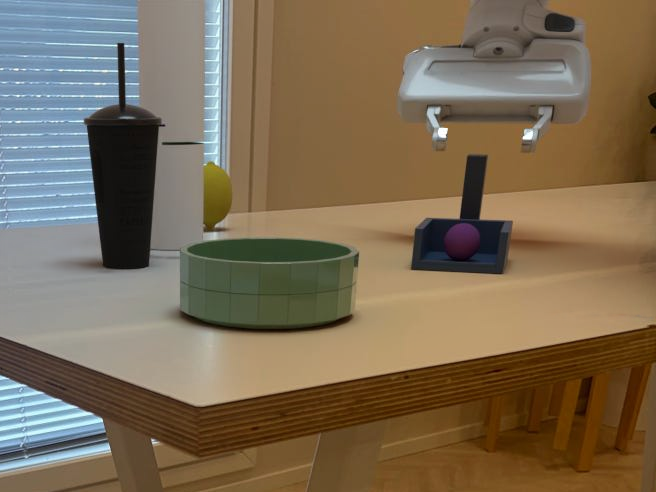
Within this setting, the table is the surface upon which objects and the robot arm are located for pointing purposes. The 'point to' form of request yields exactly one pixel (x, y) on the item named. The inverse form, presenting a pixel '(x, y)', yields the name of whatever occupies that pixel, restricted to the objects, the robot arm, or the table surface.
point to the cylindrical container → (175, 114)
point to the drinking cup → (124, 176)
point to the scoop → (491, 231)
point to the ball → (462, 242)
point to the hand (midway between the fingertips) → (482, 148)
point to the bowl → (268, 282)
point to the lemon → (216, 195)
